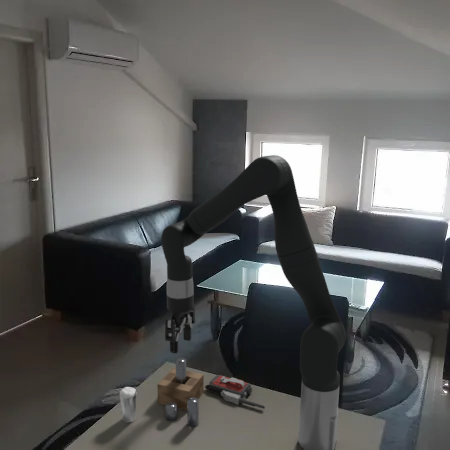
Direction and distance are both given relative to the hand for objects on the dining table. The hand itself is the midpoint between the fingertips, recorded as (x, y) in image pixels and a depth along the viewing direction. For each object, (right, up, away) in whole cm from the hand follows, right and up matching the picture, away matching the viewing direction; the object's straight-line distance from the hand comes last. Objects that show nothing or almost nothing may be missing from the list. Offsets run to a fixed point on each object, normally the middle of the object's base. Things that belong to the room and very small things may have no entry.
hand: (181, 346), depth 140 cm
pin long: (0, -16, +4) cm, 17 cm away
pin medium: (+4, -19, -8) cm, 21 cm away
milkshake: (-13, -19, -7) cm, 24 cm away
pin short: (-2, -18, -6) cm, 19 cm away
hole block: (0, -16, +4) cm, 17 cm away
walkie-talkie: (+16, -17, +5) cm, 24 cm away
